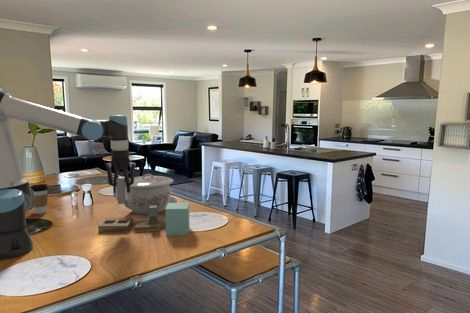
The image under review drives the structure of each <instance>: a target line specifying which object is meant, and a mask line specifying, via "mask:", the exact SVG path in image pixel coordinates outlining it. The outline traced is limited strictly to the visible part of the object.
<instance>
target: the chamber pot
mask: <svg viewBox="0 0 470 313" xmlns="http://www.w3.org/2000/svg"><path fill="white" fill-rule="evenodd" d="M129 181H130V178H129ZM172 183H174V179H173V178H171V177H169V176H164V175H162V176H161V175H153V174H151V173H145V174H143V175H141V176H134V183H133V184H132V185H130V192H129V193H128V200H127V203H126V204H124V205H125V206H126V207H127V208H128V209H130V210H131V211H132V212H133V213H134V214H138V215H144V216H146V215H148V216H149V207H150V206H157V210H158V213H161V212H164V210H165V209H166V207H167V205H168V203H171V202H170V201H171V198H172V197H171V196H172V188H171V186H170V185H171V184H172ZM112 194H113V197H114V198H115V199H116V193H114V190H112Z"/></svg>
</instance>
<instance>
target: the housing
mask: <svg viewBox="0 0 470 313" xmlns="http://www.w3.org/2000/svg"><path fill="white" fill-rule="evenodd" d="M164 210H165V235H166V236H188V235H189V231H190V202H169V203H168V205H167V207H166V208H165V209H164Z"/></svg>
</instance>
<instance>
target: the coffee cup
mask: <svg viewBox="0 0 470 313" xmlns="http://www.w3.org/2000/svg"><path fill="white" fill-rule="evenodd" d="M30 188H31V189H32V190H33V192H34V195H35V200H34V203H33V206H32V208H33V212H34V214H36V215H40V214H41V215H42V214H45V213H47V212H48V199H49V198H48V195H49V194H48V190H49V187H48V184H47V183H46V184H45V183H42V184H41V183H40V184H33V185H30Z"/></svg>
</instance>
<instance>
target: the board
mask: <svg viewBox="0 0 470 313" xmlns="http://www.w3.org/2000/svg"><path fill="white" fill-rule="evenodd" d="M158 217H159V216H158V210H157V206H150V207H149V215H148V219H146V218H145V219H139V220H138V222H137V223H136V225H135V226H134V232H136V233H137V232H141V233H142V232H160V230H161V228H162V225H163V221H164V220H163V218H161V219H159V218H158Z"/></svg>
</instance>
